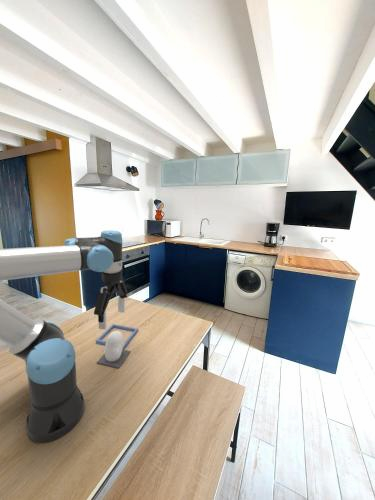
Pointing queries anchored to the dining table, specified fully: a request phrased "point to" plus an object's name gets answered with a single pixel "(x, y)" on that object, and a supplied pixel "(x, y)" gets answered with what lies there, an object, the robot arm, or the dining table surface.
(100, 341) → the cradle
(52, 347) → the robot arm
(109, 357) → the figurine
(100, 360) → the mat
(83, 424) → the dining table surface
